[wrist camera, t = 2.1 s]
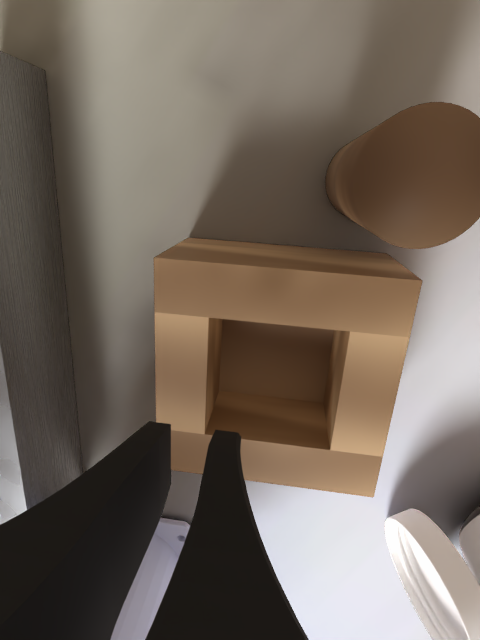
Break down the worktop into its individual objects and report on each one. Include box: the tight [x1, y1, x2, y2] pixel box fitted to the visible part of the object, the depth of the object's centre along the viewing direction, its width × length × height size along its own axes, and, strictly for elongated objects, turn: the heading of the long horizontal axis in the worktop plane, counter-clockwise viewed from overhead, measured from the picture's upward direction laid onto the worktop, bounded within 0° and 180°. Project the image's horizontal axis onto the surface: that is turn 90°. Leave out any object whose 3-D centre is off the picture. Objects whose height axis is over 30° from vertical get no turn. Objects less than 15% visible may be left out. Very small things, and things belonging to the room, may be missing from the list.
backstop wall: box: [0, 51, 83, 525], centre depth 18 cm, size 22×2×5 cm, turn 177°
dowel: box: [325, 102, 480, 249], centre depth 13 cm, size 3×3×8 cm
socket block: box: [154, 238, 422, 497], centre depth 17 cm, size 9×9×5 cm
